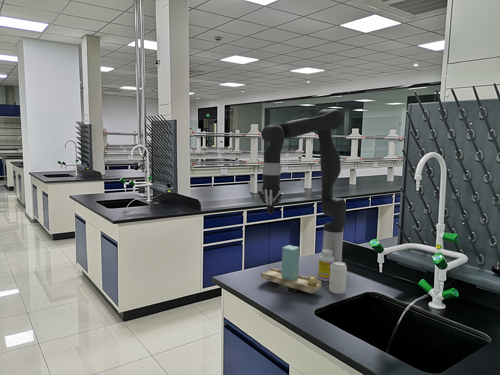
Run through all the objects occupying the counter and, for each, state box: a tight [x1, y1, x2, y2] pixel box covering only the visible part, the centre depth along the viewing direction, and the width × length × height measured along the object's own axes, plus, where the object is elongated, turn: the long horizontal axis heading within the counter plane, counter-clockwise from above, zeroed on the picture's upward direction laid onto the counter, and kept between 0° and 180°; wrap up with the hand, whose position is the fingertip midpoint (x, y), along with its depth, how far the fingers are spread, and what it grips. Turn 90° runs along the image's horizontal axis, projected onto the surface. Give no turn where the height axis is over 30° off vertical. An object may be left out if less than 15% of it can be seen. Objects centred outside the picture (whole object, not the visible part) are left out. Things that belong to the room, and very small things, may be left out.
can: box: [328, 260, 348, 295], centre depth 146 cm, size 6×6×12 cm
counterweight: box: [307, 275, 318, 287], centre depth 142 cm, size 4×4×3 cm
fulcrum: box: [275, 284, 299, 296], centre depth 149 cm, size 7×11×2 cm, turn 143°
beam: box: [260, 267, 322, 294], centre depth 149 cm, size 24×8×2 cm, turn 53°
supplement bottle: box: [317, 249, 335, 282], centre depth 159 cm, size 7×7×13 cm
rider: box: [281, 244, 300, 281], centre depth 148 cm, size 5×5×13 cm
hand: (270, 213), depth 155 cm, fingers closed
